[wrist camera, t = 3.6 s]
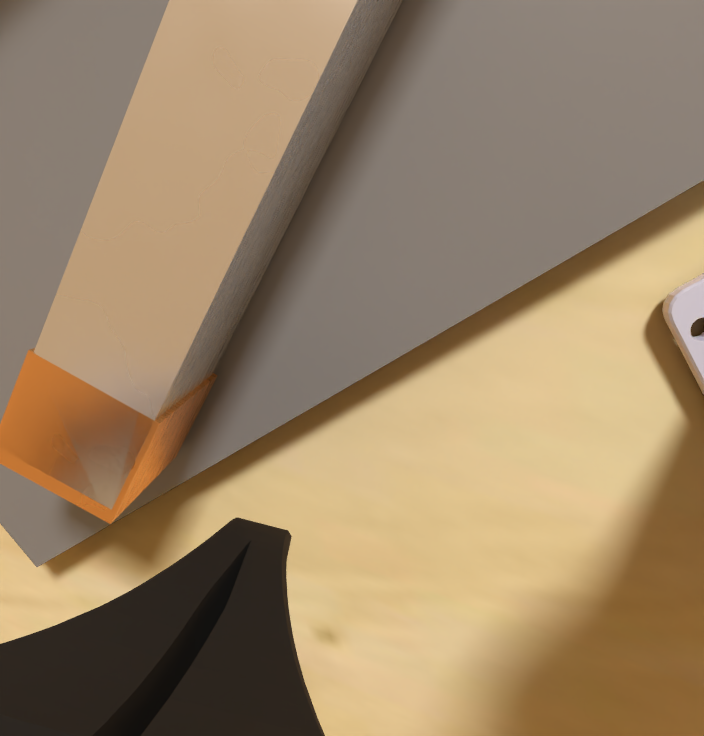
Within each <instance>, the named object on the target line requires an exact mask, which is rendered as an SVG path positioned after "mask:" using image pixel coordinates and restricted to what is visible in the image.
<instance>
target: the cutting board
mask: <svg viewBox="0 0 704 736" xmlns="http://www.w3.org/2000/svg"><path fill="white" fill-rule="evenodd" d="M168 2H169V0H0V423H1V420H2V418H3V415H4V413H5V410H6V407H7V405H8V402H9V399H10V397H11V394H12V392H13V389H14V386H15V384H16V381H17V378H18V376H19V373H20V371H21V368H22V365H23V363H24V360H25V357H26V355H27V352H28V350H30V349H33V348H36V345H37V342H38V340H39V337H40V335H41V332H42V329H43V327H44V324H45V322H46V319H47V316H48V314H49V311H50V309H51V306H52V303H53V301H54V298H55V296H56V293H57V290H58V288H59V285H60V283H61V280H62V277H63V275H64V272H65V270H66V267H67V264H68V262H69V259H70V257H71V254H72V251H73V249H74V246H75V244H76V241H77V238H78V236H79V233H80V231H81V228H82V226H83V223H84V220H85V218H86V215H87V213H88V210H89V207H90V205H91V202H92V200H93V197H94V194H95V192H96V189H97V187H98V184H99V181H100V179H101V176H102V174H103V171H104V168H105V166H106V163H107V161H108V158H109V155H110V153H111V150H112V148H113V145H114V142H115V140H116V137H117V135H118V132H119V129H120V127H121V124H122V122H123V119H124V116H125V114H126V111H127V109H128V106H129V103H130V101H131V98H132V96H133V93H134V90H135V88H136V85H137V83H138V80H139V78H140V75H141V72H142V70H143V67H144V65H145V62H146V59H147V57H148V54H149V52H150V49H151V46H152V44H153V41H154V39H155V36H156V33H157V31H158V28H159V26H160V23H161V20H162V18H163V15H164V13H165V10H166V7H167V5H168ZM702 181H704V0H402V2H401V4H400V6H399V8H398V10H397V12H396V14H395V16H394V18H393V20H392V22H391V24H390V26H389V28H388V30H387V32H386V34H385V36H384V38H383V40H382V42H381V44H380V46H379V48H378V50H377V52H376V54H375V56H374V58H373V60H372V62H371V64H370V66H369V68H368V70H367V72H366V74H365V76H364V78H363V79H362V81H361V83H360V85H359V87H358V89H357V91H356V93H355V95H354V97H353V99H352V101H351V103H350V105H349V107H348V109H347V111H346V113H345V115H344V117H343V119H342V121H341V123H340V125H339V127H338V129H337V131H336V133H335V135H334V137H333V139H332V141H331V143H330V145H329V147H328V149H327V151H326V153H325V155H324V157H323V158H322V160H321V162H320V164H319V166H318V168H317V170H316V172H315V174H314V176H313V178H312V180H311V182H310V184H309V186H308V188H307V190H306V192H305V194H304V196H303V198H302V200H301V202H300V204H299V206H298V208H297V210H296V212H295V214H294V216H293V218H292V220H291V222H290V224H289V226H288V228H287V230H286V232H285V234H284V236H283V238H282V239H281V241H280V243H279V245H278V247H277V249H276V251H275V253H274V255H273V257H272V259H271V261H270V263H269V265H268V267H267V269H266V271H265V273H264V275H263V277H262V279H261V281H260V283H259V285H258V287H257V289H256V291H255V293H254V295H253V297H252V299H251V301H250V303H249V305H248V307H247V309H246V311H245V313H244V315H243V317H242V319H241V320H240V322H239V324H238V326H237V328H236V330H235V332H234V334H233V336H232V338H231V340H230V342H229V344H228V346H227V348H226V350H225V352H224V354H223V356H222V358H221V360H220V362H219V364H218V366H217V368H216V370H215V372H214V374H216V375H218V376H217V378H216V380H215V382H214V383H213V385H212V387H211V389H210V391H209V393H208V395H207V397H206V399H205V401H204V403H203V405H202V407H201V409H200V411H199V413H198V415H197V417H196V419H195V421H194V423H193V425H192V427H191V429H190V431H189V433H188V435H187V436H186V438H185V440H184V442H183V444H182V446H181V448H180V450H179V452H178V454H177V456H176V457H175V458H174V459H173V460H172V461H171V463H170V464H169V465H168V466H167V467H166V468H165V469H164V470H163V471H162V472H161V473H160V474H159V475H158V476H157V477H156V478H155V479H154V480H153V481H152V482H151V483H150V484H149V485H148V486H147V487H146V488H145V489H144V490H143V491H142V492H141V493H140V494H139V495H138V496H137V497H136V498H135V500H134V501H133V502H132V503H131V504H130V505H129V506H128V507H127V508H126V509H125V510H124V511H123V512H122V513H121V514H120V515H119V516H118V517H117V518H116V519H115V520H114V521H113V522H112V523H114V522H116V521H118V520H119V519H121V518H123V517H125V516H126V515H128V514H130V513H131V512H133V511H135V510H137V509H138V508H140V507H142V506H143V505H145V504H147V503H149V502H150V501H152V500H154V499H156V498H157V497H159V496H161V495H162V494H164V493H166V492H168V491H169V490H171V489H173V488H174V487H176V486H178V485H180V484H181V483H183V482H185V481H187V480H188V479H190V478H192V477H193V476H195V475H197V474H199V473H200V472H202V471H204V470H206V469H207V468H209V467H211V466H212V465H214V464H216V463H218V462H219V461H221V460H223V459H224V458H226V457H228V456H230V455H231V454H233V453H235V452H237V451H238V450H240V449H242V448H243V447H245V446H247V445H249V444H250V443H252V442H254V441H255V440H257V439H259V438H261V437H262V436H264V435H266V434H268V433H269V432H271V431H273V430H274V429H276V428H278V427H280V426H281V425H283V424H285V423H287V422H288V421H290V420H292V419H293V418H295V417H297V416H299V415H300V414H302V413H304V412H305V411H307V410H309V409H311V408H312V407H314V406H316V405H318V404H319V403H321V402H323V401H324V400H326V399H328V398H330V397H331V396H333V395H335V394H336V393H338V392H340V391H342V390H343V389H345V388H347V387H349V386H350V385H352V384H354V383H355V382H357V381H359V380H361V379H362V378H364V377H366V376H368V375H369V374H371V373H373V372H374V371H376V370H378V369H380V368H381V367H383V366H385V365H386V364H388V363H390V362H392V361H393V360H395V359H397V358H399V357H400V356H402V355H404V354H405V353H407V352H409V351H411V350H412V349H414V348H416V347H417V346H419V345H421V344H423V343H424V342H426V341H428V340H430V339H431V338H433V337H435V336H436V335H438V334H440V333H442V332H443V331H445V330H447V329H449V328H450V327H452V326H454V325H455V324H457V323H459V322H461V321H462V320H464V319H466V318H467V317H469V316H471V315H473V314H474V313H476V312H478V311H480V310H481V309H483V308H485V307H486V306H488V305H490V304H492V303H493V302H495V301H497V300H498V299H500V298H502V297H504V296H505V295H507V294H509V293H511V292H512V291H514V290H516V289H517V288H519V287H521V286H523V285H524V284H526V283H528V282H530V281H531V280H533V279H535V278H536V277H538V276H540V275H542V274H543V273H545V272H547V271H548V270H550V269H552V268H554V267H555V266H557V265H559V264H561V263H562V262H564V261H566V260H567V259H569V258H571V257H573V256H574V255H576V254H578V253H579V252H581V251H583V250H585V249H586V248H588V247H590V246H592V245H593V244H595V243H597V242H598V241H600V240H602V239H604V238H605V237H607V236H609V235H611V234H612V233H614V232H616V231H617V230H619V229H621V228H623V227H624V226H626V225H628V224H629V223H631V222H633V221H635V220H636V219H638V218H640V217H642V216H643V215H645V214H647V213H648V212H650V211H652V210H654V209H655V208H657V207H659V206H660V205H662V204H664V203H666V202H667V201H669V200H671V199H673V198H674V197H676V196H678V195H679V194H681V193H683V192H685V191H686V190H688V189H690V188H692V187H693V186H695V185H697V184H698V183H700V182H702ZM112 523H111V524H112ZM0 524H1V525H2V526H3V527H4V529H5V530H6V531H7V532H8V533H9V535H10V536H11V537H12V538H13V539H14V541H15V542H16V543H17V544H18V545H19V547H20V548H21V549H22V550H23V551H24V553H25V554H26V555H27V556H28V557H29V559H30V560H31V561H32V562H33V563H34V564H35V566H36V567H38V566H40V565H42V564H43V563H45V562H47V561H49V560H50V559H52V558H54V557H56V556H57V555H59V554H61V553H62V552H64V551H66V550H68V549H69V548H71V547H73V546H75V545H76V544H78V543H80V542H81V541H83V540H85V539H87V538H88V537H90V536H92V535H93V534H95V533H97V532H99V531H100V530H102V529H104V528H106V527H107V526H109V525H111V524H109V523H108V522H106V521H104V520H102V519H100V518H98V517H97V516H95V515H93V514H91V513H89V512H87V511H86V510H84V509H82V508H80V507H78V506H77V505H75V504H73V503H71V502H69V501H67V500H66V499H64V498H62V497H60V496H58V495H56V494H55V493H53V492H51V491H49V490H47V489H45V488H44V487H42V486H40V485H38V484H36V483H35V482H33V481H31V480H29V479H27V478H25V477H24V476H22V475H20V474H18V473H16V472H14V471H13V470H11V469H9V468H7V467H5V466H4V465H2V464H0Z"/></svg>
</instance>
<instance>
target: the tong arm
mask: <svg viewBox="0 0 704 736" xmlns="http://www.w3.org/2000/svg"><path fill="white" fill-rule="evenodd" d="M401 2H402V0H169V2H168V5H167V7H166V10H165V13H164V15H163V18H162V20H161V23H160V26H159V28H158V31H157V33H156V36H155V39H154V41H153V44H152V46H151V49H150V52H149V54H148V57H147V59H146V62H145V65H144V67H143V70H142V72H141V75H140V78H139V80H138V83H137V85H136V88H135V90H134V93H133V96H132V98H131V101H130V103H129V106H128V109H127V111H126V114H125V116H124V119H123V122H122V124H121V127H120V129H119V132H118V135H117V137H116V140H115V142H114V145H113V148H112V150H111V153H110V155H109V158H108V161H107V163H106V166H105V168H104V171H103V174H102V176H101V179H100V181H99V184H98V187H97V189H96V192H95V194H94V197H93V200H92V202H91V205H90V207H89V210H88V213H87V215H86V218H85V220H84V223H83V226H82V228H81V231H80V233H79V236H78V238H77V241H76V244H75V246H74V249H73V251H72V254H71V257H70V259H69V262H68V264H67V267H66V270H65V272H64V275H63V277H62V280H61V283H60V285H59V288H58V290H57V293H56V296H55V298H54V301H53V303H52V306H51V309H50V311H49V314H48V316H47V319H46V322H45V324H44V327H43V329H42V332H41V335H40V337H39V340H38V342H37V345H36V348H33V349H30V350H28V352H27V355H26V357H25V360H24V363H23V365H22V368H21V371H20V373H19V376H18V378H17V381H16V384H15V386H14V389H13V392H12V394H11V397H10V399H9V402H8V405H7V407H6V410H5V413H4V415H3V418H2V420H1V423H0V464H2V465H4V466H5V467H7V468H9V469H11V470H13V471H14V472H16V473H18V474H20V475H22V476H24V477H25V478H27V479H29V480H31V481H33V482H35V483H36V484H38V485H40V486H42V487H44V488H45V489H47V490H49V491H51V492H53V493H55V494H56V495H58V496H60V497H62V498H64V499H66V500H67V501H69V502H71V503H73V504H75V505H77V506H78V507H80V508H82V509H84V510H86V511H87V512H89V513H91V514H93V515H95V516H97V517H98V518H100V519H102V520H104V521H106V522H108V523H109V524H111V523H112V522H113V521H114V520H115V519H116V518H117V517H118V516H119V515H120V514H121V513H122V512H123V511H124V510H125V509H126V508H127V507H128V506H129V505H130V504H131V503H132V502H133V501H134V500H135V498H136V497H137V496H138V495H139V494H140V493H141V492H142V491H143V490H144V489H145V488H146V487H147V486H148V485H149V484H150V483H151V482H152V481H153V480H154V479H155V478H156V477H157V476H158V475H159V474H160V473H161V472H162V471H163V470H164V469H165V468H166V467H167V466H168V465H169V464H170V463H171V461H172V460H173V459H174V458H175V457H176V456H177V454H178V452H179V450H180V448H181V446H182V444H183V442H184V440H185V438H186V436H187V435H188V433H189V431H190V429H191V427H192V425H193V423H194V421H195V419H196V417H197V415H198V413H199V411H200V409H201V407H202V405H203V403H204V401H205V399H206V397H207V395H208V393H209V391H210V389H211V387H212V385H213V383H214V382H215V380H216V378H217V376H218V375H216V374H214V372H215V370H216V368H217V366H218V364H219V362H220V360H221V358H222V356H223V354H224V352H225V350H226V348H227V346H228V344H229V342H230V340H231V338H232V336H233V334H234V332H235V330H236V328H237V326H238V324H239V322H240V320H241V319H242V317H243V315H244V313H245V311H246V309H247V307H248V305H249V303H250V301H251V299H252V297H253V295H254V293H255V291H256V289H257V287H258V285H259V283H260V281H261V279H262V277H263V275H264V273H265V271H266V269H267V267H268V265H269V263H270V261H271V259H272V257H273V255H274V253H275V251H276V249H277V247H278V245H279V243H280V241H281V239H282V238H283V236H284V234H285V232H286V230H287V228H288V226H289V224H290V222H291V220H292V218H293V216H294V214H295V212H296V210H297V208H298V206H299V204H300V202H301V200H302V198H303V196H304V194H305V192H306V190H307V188H308V186H309V184H310V182H311V180H312V178H313V176H314V174H315V172H316V170H317V168H318V166H319V164H320V162H321V160H322V158H323V157H324V155H325V153H326V151H327V149H328V147H329V145H330V143H331V141H332V139H333V137H334V135H335V133H336V131H337V129H338V127H339V125H340V123H341V121H342V119H343V117H344V115H345V113H346V111H347V109H348V107H349V105H350V103H351V101H352V99H353V97H354V95H355V93H356V91H357V89H358V87H359V85H360V83H361V81H362V79H363V78H364V76H365V74H366V72H367V70H368V68H369V66H370V64H371V62H372V60H373V58H374V56H375V54H376V52H377V50H378V48H379V46H380V44H381V42H382V40H383V38H384V36H385V34H386V32H387V30H388V28H389V26H390V24H391V22H392V20H393V18H394V16H395V14H396V12H397V10H398V8H399V6H400V4H401Z"/></svg>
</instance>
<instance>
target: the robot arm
mask: <svg viewBox="0 0 704 736" xmlns="http://www.w3.org/2000/svg"><path fill="white" fill-rule="evenodd" d="M662 312H663V316H664V319H665V321H666V323H667V325H668V327H669V329H670V331H671V333H672V335H673V337H674V338H675V340H676V342H677V344H678V346H679V348H680V350H681V352H682V354H683V356H684V358H685V360H686V362H687V364H688V366H689V367H690V369H691V371H692V373H693V375H694V377H695V379H696V381H697V383H698V385H699V387H700V389H701V391H702V393H703V395H704V332H703V333H702V334H701V335H699V336H695V337H692V336H691V331H690V329H691V326H692V324H693V323H694V322H695V321H696V320H697V319H699V318H703V317H704V273H703V274H701V275H700V276H698V277H696V278H694V279H692V280H690V281H688V282H687V283H685V284H683V285H681V286H679V287H677V288H676V289H674V290H673V291H672V292H671V293H669V294H668V296H667V298H666V299H665V301H664V303H663V309H662ZM290 541H291V535H290V533H289V531H288V530H284V529H280V528H276V527H272V526H268V525H264V524H260V523H256V522H252V521H249V520H245V519H241V518H235V519H233V520H231V521H230V522H229V523H228V524H226V525H225V526H224V527H223V528H221V529H220V530H219V531H218V532H216V533H215V534H214V535H213V536H211V537H210V538H209V539H208V540H206V541H205V542H204V543H202V544H201V545H200V546H198V547H197V548H196V549H194V550H193V551H191V552H190V553H189V554H187V555H186V556H184V557H183V558H182V559H180V560H179V561H177V562H176V563H174V564H173V565H171V566H170V567H168V568H167V569H165V570H164V571H162V572H160V573H159V574H157V575H156V576H154V577H153V578H151V579H149V580H148V581H146V582H145V583H143V584H141V585H139V586H138V587H136V588H134V589H132V590H131V591H129V592H127V593H125V594H123V595H122V596H120V597H118V598H116V599H114V600H112V601H110V602H108V603H106V604H104V605H102V606H100V607H98V608H95V609H93V610H91V611H88V612H86V613H84V614H81V615H79V616H77V617H74V618H72V619H69V620H67V621H65V622H62V623H60V624H58V625H55V626H52V627H50V628H47V629H44V630H41V631H39V632H36V633H33V634H30V635H27V636H24V637H21V638H18V639H15V640H12V641H9V642H6V643H2V644H0V736H325V735H324V732H323V730H322V728H321V725H320V723H319V721H318V718H317V716H316V713H315V710H314V707H313V704H312V702H311V699H310V696H309V693H308V690H307V687H306V685H305V682H304V679H303V675H302V671H301V668H300V664H299V661H298V657H297V652H296V648H295V644H294V639H293V634H292V628H291V622H290V615H289V608H288V598H287V582H286V561H287V555H288V550H289V546H290Z"/></svg>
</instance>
